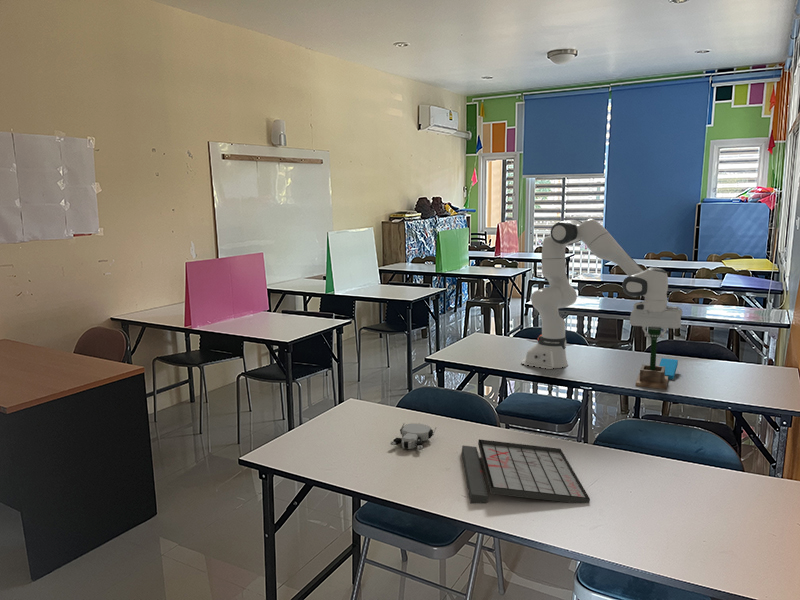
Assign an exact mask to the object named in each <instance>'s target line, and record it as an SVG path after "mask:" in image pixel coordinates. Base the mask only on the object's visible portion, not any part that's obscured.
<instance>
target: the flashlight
mask: <svg viewBox="0 0 800 600" xmlns="http://www.w3.org/2000/svg"><path fill="white" fill-rule="evenodd" d="M647 328H648V329H647V332H648V334H649V336H648V337H649V338H651V339H650V356H649V357H650V362H649V365H650V370H653V371H655V368H656V366H657V343H658V338H660V334H661V333H662V328H660V327H647Z"/></svg>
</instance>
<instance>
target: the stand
mask: <svg viewBox="0 0 800 600" xmlns="http://www.w3.org/2000/svg"><path fill="white" fill-rule="evenodd" d="M668 382H669V379H668V376H665V367H663V366H659V365H656V368H655V371H653V370H650V364H641V366H640V369H639V373H638V376H637V379H636V380H635V387H642V388H651V389H658V390H659V389H661V390H667V387H668Z"/></svg>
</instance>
